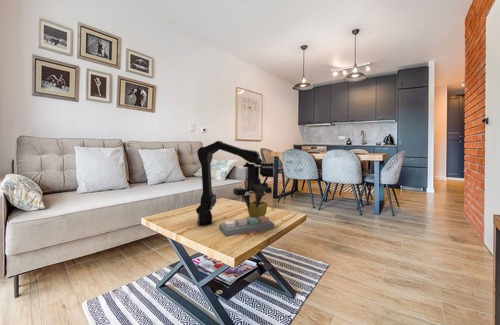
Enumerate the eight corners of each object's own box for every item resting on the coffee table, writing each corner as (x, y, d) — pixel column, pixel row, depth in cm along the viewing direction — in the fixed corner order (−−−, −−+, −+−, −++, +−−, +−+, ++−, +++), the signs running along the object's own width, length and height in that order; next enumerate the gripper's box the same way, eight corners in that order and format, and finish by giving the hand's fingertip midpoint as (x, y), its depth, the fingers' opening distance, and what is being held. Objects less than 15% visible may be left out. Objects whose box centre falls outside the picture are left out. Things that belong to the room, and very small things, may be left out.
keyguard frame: (226, 236, 101) (226, 230, 101) (219, 228, 110) (219, 223, 110) (274, 228, 112) (274, 223, 112) (264, 222, 121) (264, 217, 121)
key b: (239, 228, 107) (239, 222, 107) (236, 225, 111) (236, 219, 110) (246, 227, 109) (247, 221, 109) (243, 224, 112) (243, 218, 112)
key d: (261, 225, 112) (261, 219, 112) (257, 222, 116) (257, 216, 116) (268, 224, 114) (268, 218, 114) (264, 221, 118) (264, 215, 117)
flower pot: (260, 222, 121) (260, 205, 121) (246, 219, 126) (246, 203, 125) (267, 217, 129) (268, 202, 128) (254, 215, 133) (254, 200, 133)
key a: (227, 230, 104) (227, 224, 104) (224, 227, 108) (224, 221, 108) (235, 229, 106) (235, 222, 106) (232, 226, 110) (232, 220, 110)
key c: (250, 226, 110) (250, 220, 110) (247, 224, 113) (247, 218, 113) (257, 225, 111) (258, 219, 111) (254, 223, 115) (254, 217, 115)
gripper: (242, 179, 100) (242, 214, 101) (278, 177, 108) (277, 209, 109) (233, 176, 110) (232, 208, 111) (266, 175, 118) (265, 204, 119)
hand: (252, 207), depth 112 cm, fingers open, 4 cm apart
